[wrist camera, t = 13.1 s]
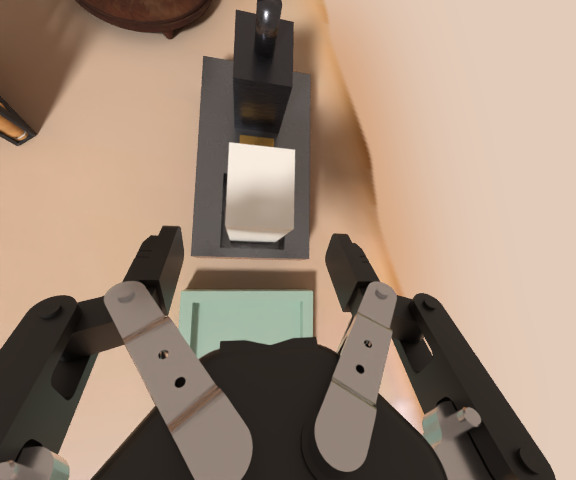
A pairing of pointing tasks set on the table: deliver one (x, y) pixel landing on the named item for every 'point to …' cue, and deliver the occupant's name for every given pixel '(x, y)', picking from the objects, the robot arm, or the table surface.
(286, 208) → the plug
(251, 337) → the tray
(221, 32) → the table surface
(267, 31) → the grey charging dock
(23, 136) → the ammunition clip
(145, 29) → the turned wooden stand
